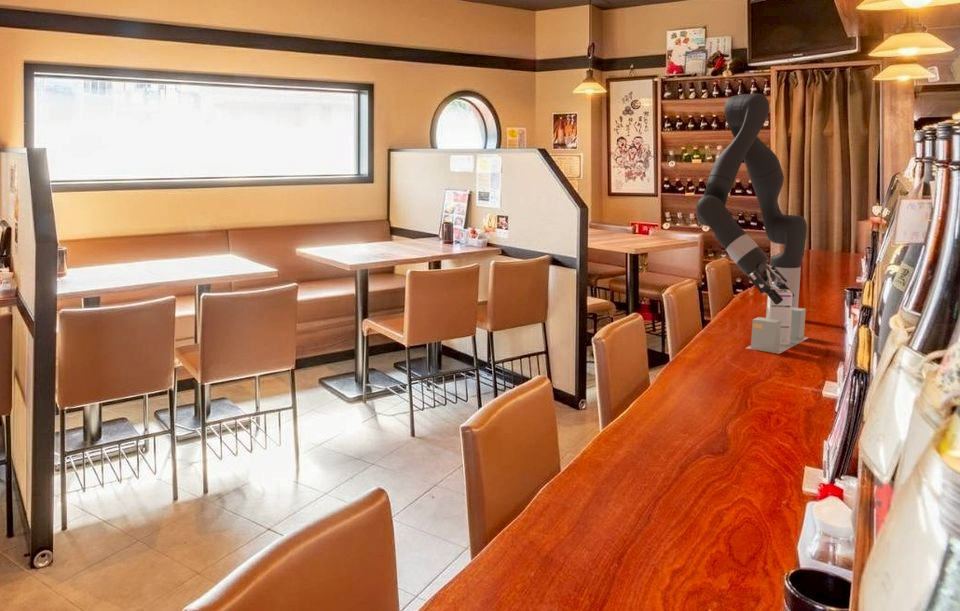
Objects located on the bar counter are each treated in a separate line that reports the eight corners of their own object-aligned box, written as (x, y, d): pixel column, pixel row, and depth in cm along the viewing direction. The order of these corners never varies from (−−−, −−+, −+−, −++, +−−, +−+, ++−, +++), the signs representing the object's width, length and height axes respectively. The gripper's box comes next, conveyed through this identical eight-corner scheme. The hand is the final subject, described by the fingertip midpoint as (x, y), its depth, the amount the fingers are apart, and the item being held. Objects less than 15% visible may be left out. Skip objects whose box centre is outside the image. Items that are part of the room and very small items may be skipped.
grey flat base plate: (776, 336, 217) (776, 332, 217) (808, 341, 211) (809, 337, 211) (744, 352, 200) (745, 348, 200) (778, 358, 194) (779, 353, 194)
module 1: (756, 346, 202) (758, 317, 200) (779, 349, 198) (781, 320, 196) (750, 349, 199) (752, 319, 197) (773, 352, 195) (775, 322, 193)
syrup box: (790, 345, 202) (794, 292, 199) (767, 344, 203) (770, 291, 200) (787, 340, 207) (791, 289, 204) (764, 339, 209) (767, 288, 206)
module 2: (782, 333, 216) (784, 306, 214) (803, 336, 212) (805, 308, 210) (777, 336, 213) (779, 308, 211) (798, 339, 209) (800, 311, 207)
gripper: (746, 248, 200) (787, 295, 195) (766, 243, 210) (805, 288, 205) (726, 266, 204) (765, 312, 199) (747, 260, 215) (784, 304, 209)
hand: (785, 300), depth 202 cm, fingers open, 8 cm apart
